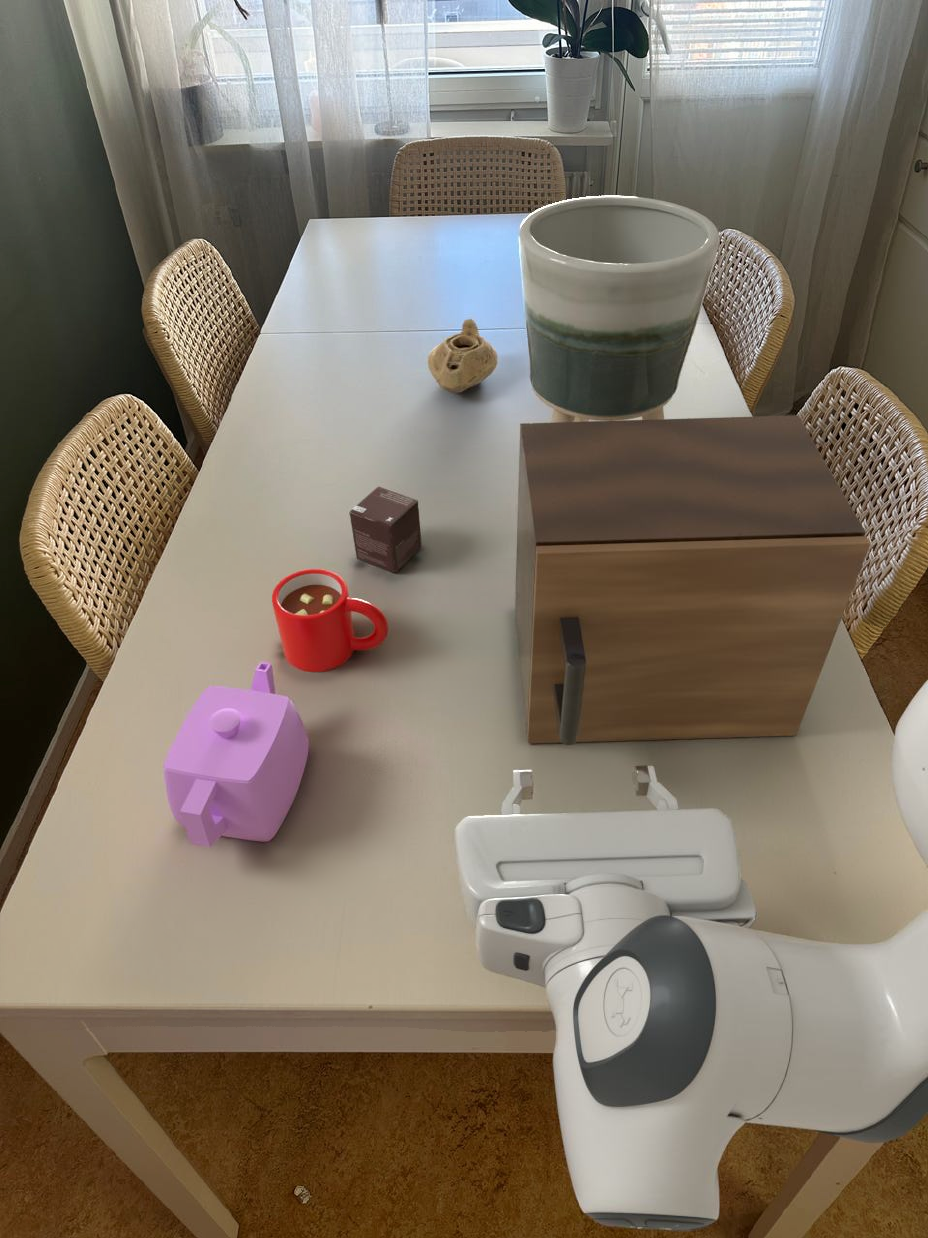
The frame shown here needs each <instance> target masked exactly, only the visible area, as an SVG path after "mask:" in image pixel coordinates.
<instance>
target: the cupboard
mask: <svg viewBox="0 0 928 1238" xmlns="http://www.w3.org/2000/svg"><path fill="white" fill-rule="evenodd" d="M518 450H519V451H518V452H519V455H518V489H517V490H518V491H517V519H516V520H517V523H516V524H517V525H516V527H517V528H516V559H515V560H516V562H515V597H514V616H515V625H516V626H515V627H516V637H517V646H518V656H519V669H520V678H521V687H522V688H521V689H522V699H523V700H522V701H523V710H524V721H525V732H526V733H527V727H528V706H529V685H530V664H531V643H532V622H533V601H534V580H535V559H536V546H554V545H587V544H621V543H654V542H687V541H721V540H754V539H787V538H821V537H854V536H866V532H867V531H866V530H865V528H864V527H863V525H862V523H861V521H860V520H859V518H858V516H857V514H856V512H854V509H853V508H852V506H851V504H850V502H849V501H848V499H847V497H846V496H845V494H844V492H843V490H842V489H841V487H840V485H839V483H838V482H837V480H836V478H835V477H834V474H833V473H832V471H831V470H830V468H829V466H828V465H827V463H826V461H825V459H824V458H823V456H822V454H821V452H820V451H819V449H818V447H817V446H816V443H815V442H814V440H813V438H812V437H811V435H810V433H809V432H808V430H807V428H806V426H805V425H804V423H803V422H802V419H801V418H800V416H799V415H797V414H796V415H765V416H764V415H763V416H762V415H761V416H729V417H725V416H723V417H694V418H693V417H691V418H690V417H689V418H664V419H656V420H642V419H626V420H615V421H601V420H591V421H589V420H588V422H555V423H551V422H527V423H526V422H525V423H520V424H519V449H518Z"/></svg>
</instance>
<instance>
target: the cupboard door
mask: <svg viewBox="0 0 928 1238" xmlns="http://www.w3.org/2000/svg"><path fill="white" fill-rule="evenodd" d="M870 547H871V541H870V540H869V538H868V537H867V536H866V535H865V536H854V537H821V538H787V539H754V540H721V541H687V542H654V543H621V544H587V545H554V546H536V559H535V580H534V601H533V622H532V643H531V664H530V685H529V706H528V727H527V732H526V740H527V744H555V743H557V744H558V743H562V744H563V745H566V746H572V745H574V744H576V743H589V742H622V741H623V742H625V741H626V742H627V741H651V740H652V741H657V740H658V741H659V740H686V739H687V740H688V739H720V738H721V739H723V738H755V737H757V738H758V737H787V736H788V737H789V736H791V737H792V736H797V734H798V732H799V729H800V726H801V724H802V721H803V719H804V716H805V714H806V711H807V709H808V706H809V703H810V702H811V699H812V696H813V693H814V691H815V688H816V685H817V683H818V680H819V678H820V675H821V672H822V670H823V667H824V665H825V662H826V659H827V657H828V655H829V652H830V650H831V646H832V645H833V641H834V639H835V638H836V634H837V632H838V629H839V626H840V624H841V622H842V618H843V617H844V614H845V611H846V609H847V606H848V603H849V600H850V599H851V595H852V593H853V590H854V587H855V585H856V582H857V580H858V578H859V575H860V572H861V570H862V567H863V564H864V562H865V560H866V557H867V554H868V552H869V549H870Z"/></svg>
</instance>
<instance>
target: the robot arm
mask: <svg viewBox="0 0 928 1238" xmlns="http://www.w3.org/2000/svg"><path fill="white" fill-rule="evenodd" d="M891 779H892V787H893V793H894V799H895V802H896V806H897V808H898V812H899V815H900V818H901V820H902V822H903V825H904V827H905V830H906V832H907V834H908V836H909V837H910V840H911V841H912V843H913V846H914V847H915V849H916V851H917V853H918V855H919V856H920V858H921V860H922V861H923V863H924V864H925V865H926V867H927V868H928V679H927V680H926V681H925V682H924V683H923V685H922V686H921V687H920V688H919V689H918V691H917V693H916V694H915V695H914V697H913V698H912V699H911V700H910V702H909V703H908V705H907V707H906V708H905V710H904V711H903V713H902V715H901V717H900V718H899V719H898V722H897V724H896V727H895V732H894V738H893V743H892V751H891ZM632 783H633V786H634V794H635V796H636V797H646V798H647V799H648V801H650V803H652V805H653V806H654V808H656V809H647V810H644V809H643V810H619V811H617V810H616V811H615V810H613V811H587V812H586V811H585V812H583V811H582V812H559V813H558V812H557V813H551V812H550V813H528V814H527V813H526V814H525V813H523V814H522V812H521V811H522V810H521V805H522V802H523V801H526V800H528V801H529V800H533V799H534V778H533V770H532V769H513V770H512V788H511V789H510V791H509V792H508V794H507V795H506V797H505V799H504V800H503V801H502V803H501V811H500V812H501V814H496V815H495V814H493V815H468V816H465V817H463V818H462V819H461V821H460V822H459V823H458V824H457V825H456V826H455V829H454V844H455V845H454V848H455V849H454V850H455V860H456V871H457V878H458V879H457V880H458V886H459V891H460V896H461V901H462V905H463V910H464V913H465V915H466V917H467V919H468V921H469V923H470V924H471V926H472V927H474V929H475V946H476V952H477V957H478V960H479V963H480V965H481V967H482V968H483V969H485V970H486V971H489V972H491V973H494V974H497V975H502V976H506V977H509V978H511V979H516V980H520V981H523V982H526V983H530V984H533V985H536V986H539V987H543V988H545V995H546V999H547V1003H548V1006H549V1008H550V1010H551V1013H552V1017H553V1020H554V1024H555V1043H554V1048H553V1054H552V1070H553V1080H554V1081H553V1082H554V1090H555V1097H556V1107H557V1113H558V1120H559V1121H558V1122H559V1127H560V1132H561V1138H562V1145H563V1150H564V1155H565V1159H566V1164H567V1169H568V1173H569V1177H570V1180H571V1184H572V1188H573V1191H574V1195H575V1198H576V1200H577V1202H578V1205H579V1208H580V1209H581V1211H582V1212H583V1213H584V1214H585V1215H586V1216H587V1217H589V1218H591V1219H592V1220H593V1221H594V1222H595V1223H597V1224H600V1225H602V1226H606V1227H612V1228H624V1229H625V1228H626V1229H638V1230H649V1231H650V1230H651V1231H652V1230H654V1231H655V1230H656V1231H657V1230H658V1231H659V1230H661V1231H669V1232H689V1231H690V1232H691V1231H698V1230H702V1229H705V1228H707V1227H708V1226H709V1225H711V1224H713V1223H715V1222H716V1221H718V1219H719V1216H720V1185H719V1184H720V1183H719V1171H718V1167H719V1164H720V1162H721V1159H722V1156H723V1154H724V1152H725V1150H726V1148H727V1146H728V1145H729V1143H730V1141H731V1139H732V1138H733V1136H734V1135H735V1134H736V1133H737V1132H738V1130H740V1129H741V1128H742V1127H743V1126H744V1125H745V1124H746V1123H748V1124H758V1125H766V1126H776V1127H785V1128H793V1129H802V1130H809V1131H810V1130H811V1131H814V1132H815V1131H816V1132H818V1133H822V1134H826V1135H830V1136H835V1137H840V1138H845V1139H849V1140H853V1141H857V1142H862V1143H868V1144H881V1143H887V1142H891V1141H894V1140H897V1139H899V1138H901V1137H903V1136H904V1135H906V1134H908V1133H909V1132H910V1131H911V1130H913V1129H914V1128H915V1127H916V1126H918V1124H919V1123H920V1122H921V1121H922V1120H923V1119H924V1118H925V1116H927V1114H928V907H926V908H925V909H924V910H923V911H922V912H920V913H919V914H918V915H917V916H916V917H914V918H913V919H912V920H911V921H909V922H908V923H907V924H906V925H905V926H903V927H902V928H901V929H900V930H898V931H897V933H895V934H894V935H893V936H891V937H890V938H888V939H886V940H883V941H879V942H872V943H841V942H840V943H839V942H838V943H837V942H829V941H820V940H819V941H818V940H813V939H807V938H802V937H796V936H791V935H785V934H781V933H775V932H771V931H769V932H768V931H766V930H765V931H764V930H759V929H754V928H751V927H753V925H754V923H755V921H756V919H757V908H756V905H755V901H754V898H753V895H752V891H751V889H750V887H749V885H748V884H747V882H746V881H745V880H744V879H743V878H741V877H742V876H741V863H740V854H739V853H740V852H739V846H738V841H737V834H736V829H735V825H734V823H733V820H732V818H730V817H729V816H728V815H727V814H726V813H725V812H723V811H722V809H720V808H718V807H717V808H716V807H707V808H705V807H704V808H703V807H702V808H679V803H678V799H677V798H676V797H675V796H674V794H672V793H671V792H670V791H669V790H668V789H667V788H666V787H665V786H664V785H663V784H662V783H661V782H659V781H658V778H657V773H656V769H655V766H654V765H634V767H633V771H632Z"/></svg>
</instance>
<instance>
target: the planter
mask: <svg viewBox="0 0 928 1238" xmlns="http://www.w3.org/2000/svg"><path fill="white" fill-rule="evenodd" d="M517 236H518V253H519V265H520V277H521V290H522V291H521V292H522V302H523V314H524V325H525V332H526V343H527V353H528V363H529V364H528V365H529V380H530V385H531V387H532V390H533V392H534V395H535V396H536V397H537V398H538V399H539V400H540V401H541V402H542V403H543V404H545V405H546V406H547V407H549V408H551V409H553V411H552V415H551V420H550V423H555V422H589V420H591V421H622V420H634V419H637V418H641V420H656V419H665V413H664V407H665V406H666V405H667V404H668V403H669V402H670V401H671V399H672V398H673V396H674V395H675V394H676V391H677V389H678V388H679V385H680V379H681V376H682V371H683V368H684V366H685V365H684V364H685V361H686V359H687V355H688V353H689V348H690V346H691V342H692V339H693V336H694V333H695V330H696V326H697V324H698V320H699V317H700V313H701V309H702V306H703V303H704V300H705V297H706V293H707V289H708V285H709V282H710V278H711V277H712V272H713V269H714V265H715V261H716V258H717V253H718V249H719V245H720V240H721V237H720V233H719V229H718V228H717V226H716V225H715V224H714V222H712V221H711V220H710V219H709V218H708V217H707V216H705V215H703V214H702V213H699V212H698V211H695V210H694V209H691V208H689V207H686V206H683V205H680V204H677V203H673V202H669V201H665V200H660V199H653V198H649V197H640V196H639V197H638V196H626V195H625V196H624V195H601V196H600V195H599V196H586V197H579V198H572V199H567V200H562V201H559V202H555V203H552V204H548V205H546V206H543V207H541V208H538V209H536V210H535V211H533V212H532V213H530V214H529V215H528V216H527V217H526V218H524V219H523V220H522V222H521V224H520V226H519V228H518V235H517Z"/></svg>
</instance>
